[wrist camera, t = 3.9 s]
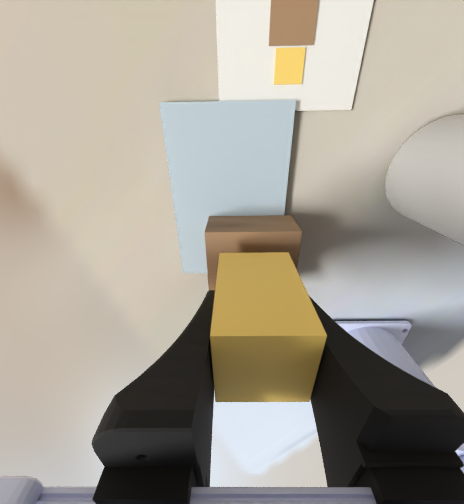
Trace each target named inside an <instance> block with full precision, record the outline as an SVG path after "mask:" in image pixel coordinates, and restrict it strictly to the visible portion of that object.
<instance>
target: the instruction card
mask: <svg viewBox="0 0 464 504" xmlns="http://www.w3.org/2000/svg"><path fill="white" fill-rule="evenodd" d="M373 1H374V0H216V26H217V55H218V85H219V101H267V100H296V105H295V111H326V110H351V109H352V104H353V99H354V94H355V89H356V84H357V80H358V75H359V70H360V65H361V60H362V55H363V50H364V45H365V40H366V36H367V31H368V26H369V21H370V16H371V11H372V6H373Z"/></svg>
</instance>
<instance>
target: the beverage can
mask: <svg viewBox="0 0 464 504" xmlns="http://www.w3.org/2000/svg"><path fill="white" fill-rule="evenodd" d="M385 192H386V197H387V199H388V202H389V203H390V205H391V206H392V208H393V209H394V210H396V211H397V212H398V213H400V214H402V215H404V216H406V217H408V218H410V219H412V220H414V221H416V222H418V223H420V224H422V225H424V226H426V227H428V228H430V229H432V230H434V231H436V232H438V233H440V234H442V235H444V236H446V237H448V238H450V239H452V240H454V241H456V242H458V243H460V244H462V245H464V114H456V115H450V116H446V117H443V118H440V119H437V120H435V121H433V122H431V123H429V124H427V125H425V126H424V127H422V128H421V129H419V130H418V131H417V132H415V133H414V134H413V135H412V136H411V137H410V138H408V139H407V140H406V141H405V143H404V144H403V145H402V146H401V147H400V149H399V150H398V151H397V153H396V154H395V156H394V158H393V159H392V161H391V164H390V166H389V168H388V171H387V175H386V180H385Z"/></svg>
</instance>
